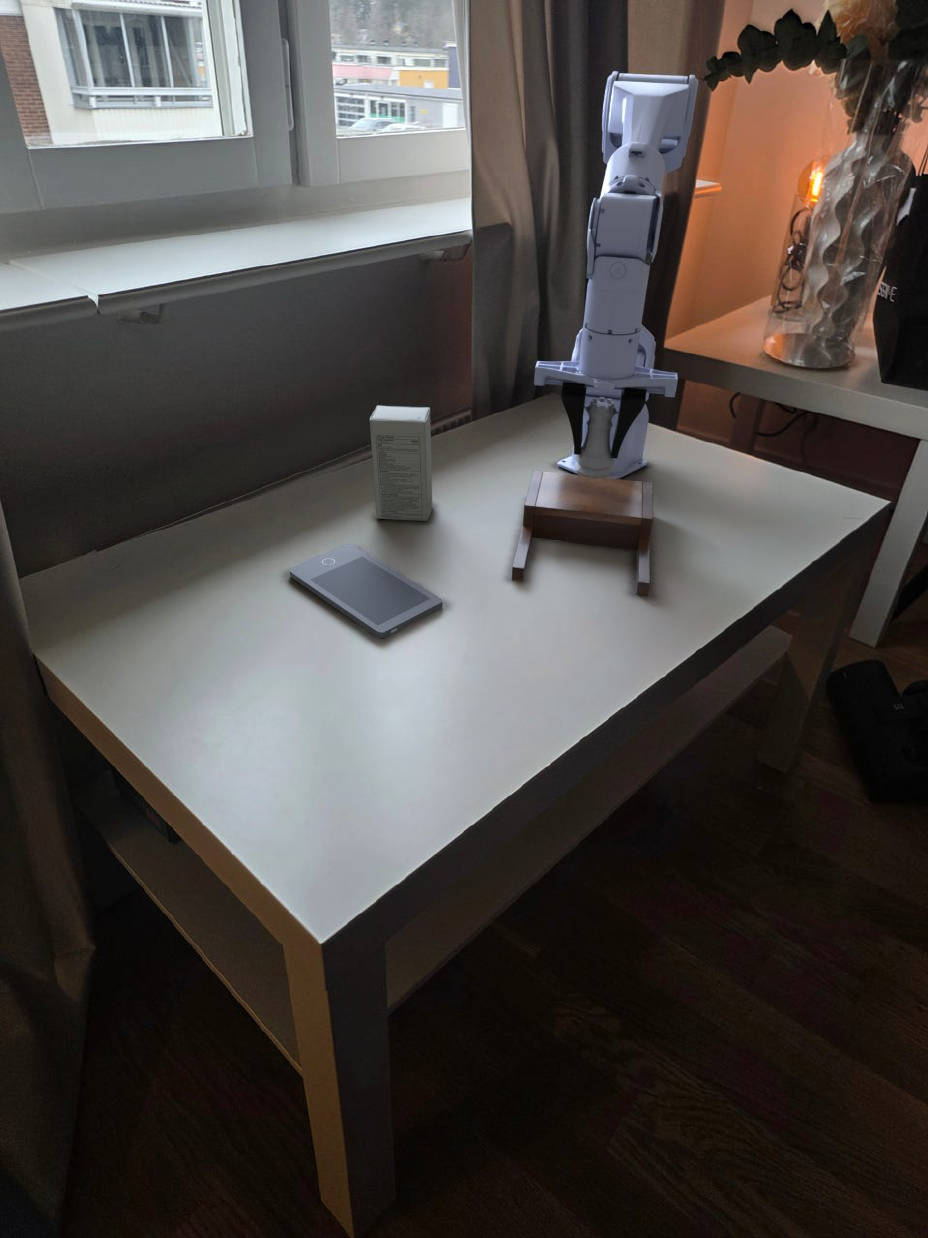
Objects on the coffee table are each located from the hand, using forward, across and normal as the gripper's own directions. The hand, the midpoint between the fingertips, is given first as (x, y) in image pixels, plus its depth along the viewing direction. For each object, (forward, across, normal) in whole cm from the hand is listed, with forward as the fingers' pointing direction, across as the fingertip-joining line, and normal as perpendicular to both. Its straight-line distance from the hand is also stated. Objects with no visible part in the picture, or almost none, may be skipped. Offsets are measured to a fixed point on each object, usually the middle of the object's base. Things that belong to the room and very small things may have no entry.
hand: (595, 452), depth 92 cm
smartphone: (+9, -21, -19) cm, 30 cm away
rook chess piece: (+2, 0, 0) cm, 2 cm away
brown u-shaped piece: (+9, 0, -4) cm, 10 cm away
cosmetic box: (+9, -21, -2) cm, 23 cm away
